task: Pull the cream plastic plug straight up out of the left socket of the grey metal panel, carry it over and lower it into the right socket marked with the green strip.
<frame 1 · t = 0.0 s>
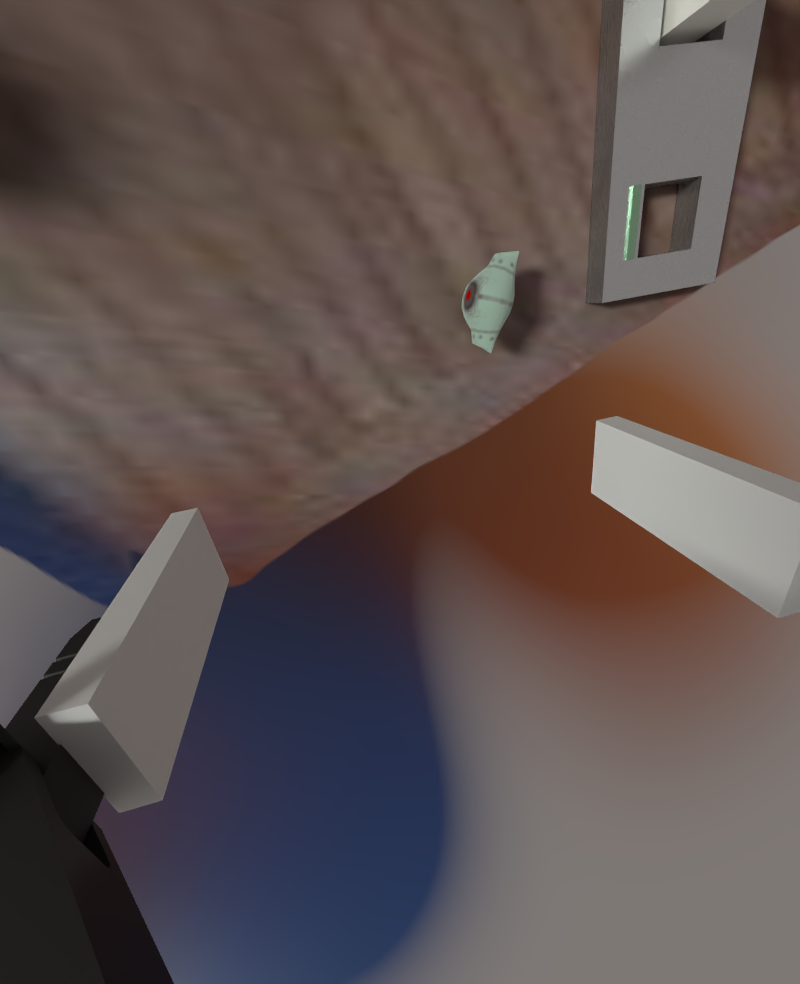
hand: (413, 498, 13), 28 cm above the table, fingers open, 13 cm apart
panel: (658, 127, 35), on the table
plug: (670, 13, 31), resting in panel
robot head: (469, 301, 38), on the table
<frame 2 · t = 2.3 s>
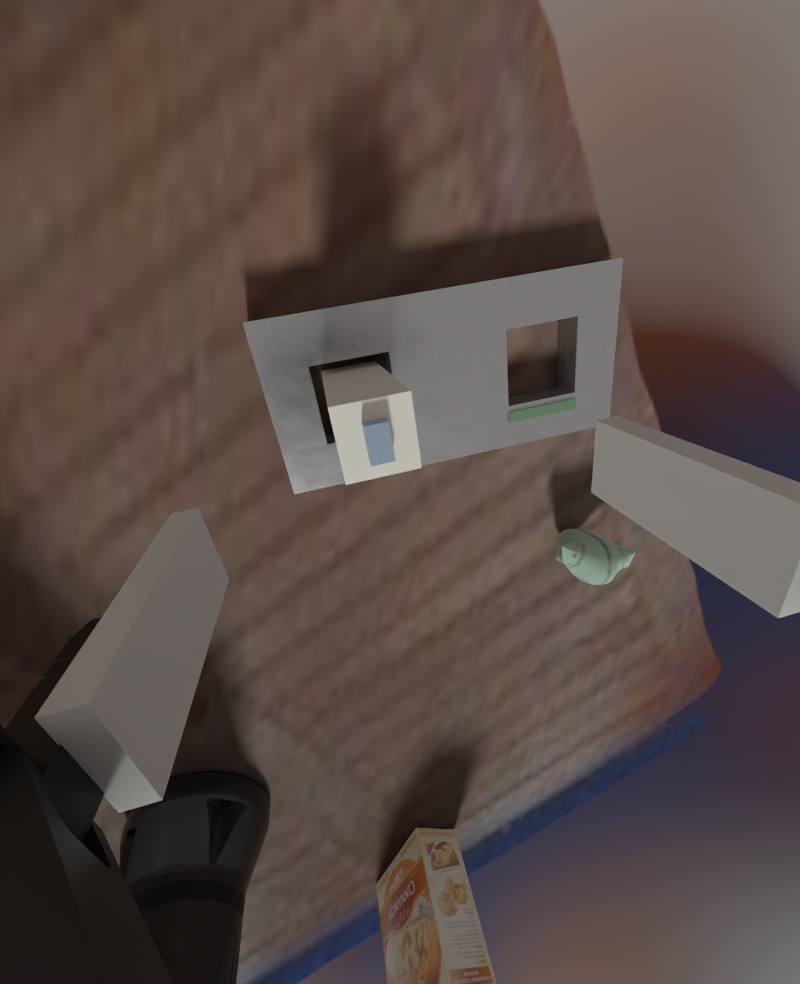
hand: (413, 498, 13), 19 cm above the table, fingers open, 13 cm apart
coffeecake box: (413, 854, 61), on the table
panel: (442, 375, 31), on the table
plug: (353, 392, 30), resting in panel
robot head: (563, 534, 40), on the table
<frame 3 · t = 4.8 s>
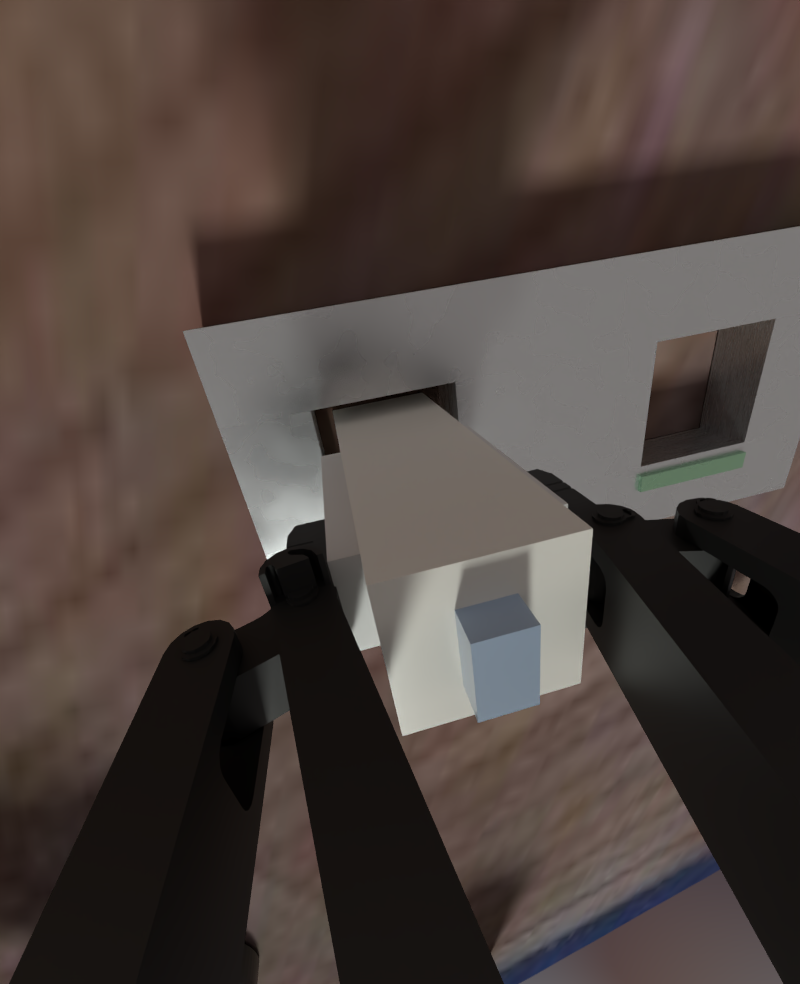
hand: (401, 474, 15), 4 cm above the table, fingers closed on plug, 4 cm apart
panel: (528, 414, 19), on the table
plug: (385, 444, 18), resting in panel, touching gripper
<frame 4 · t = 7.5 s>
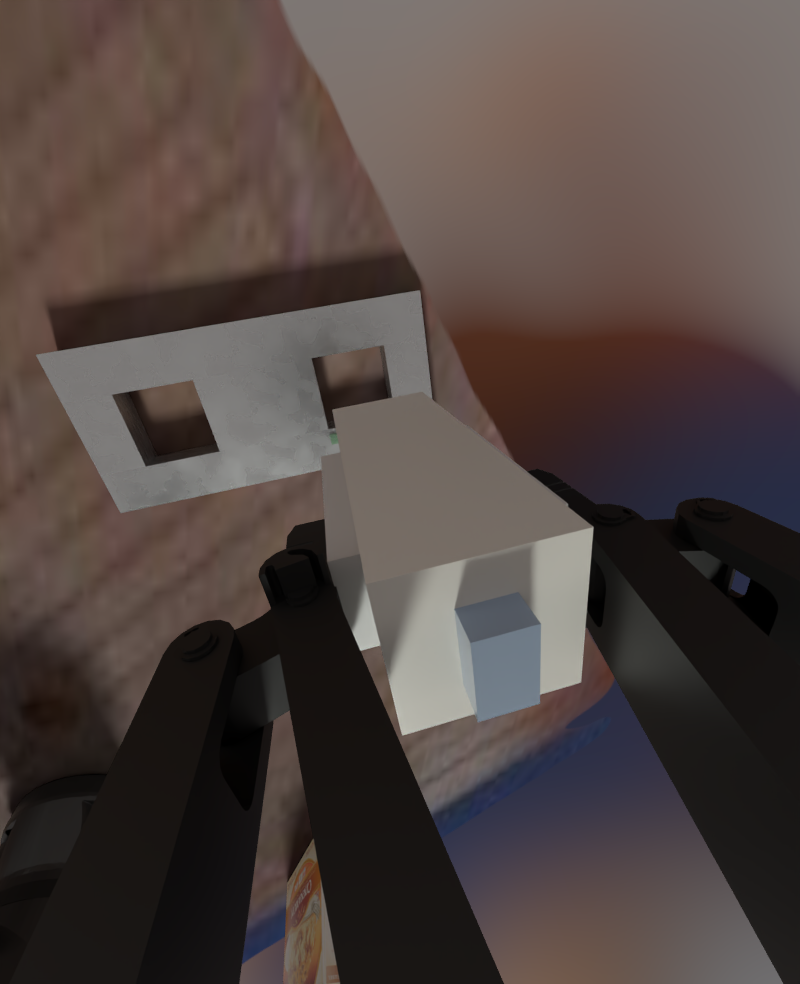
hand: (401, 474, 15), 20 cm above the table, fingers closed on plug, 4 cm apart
coffeecake box: (322, 854, 62), on the table
panel: (267, 399, 32), on the table
plug: (385, 443, 18), point 17 cm above the table, touching gripper
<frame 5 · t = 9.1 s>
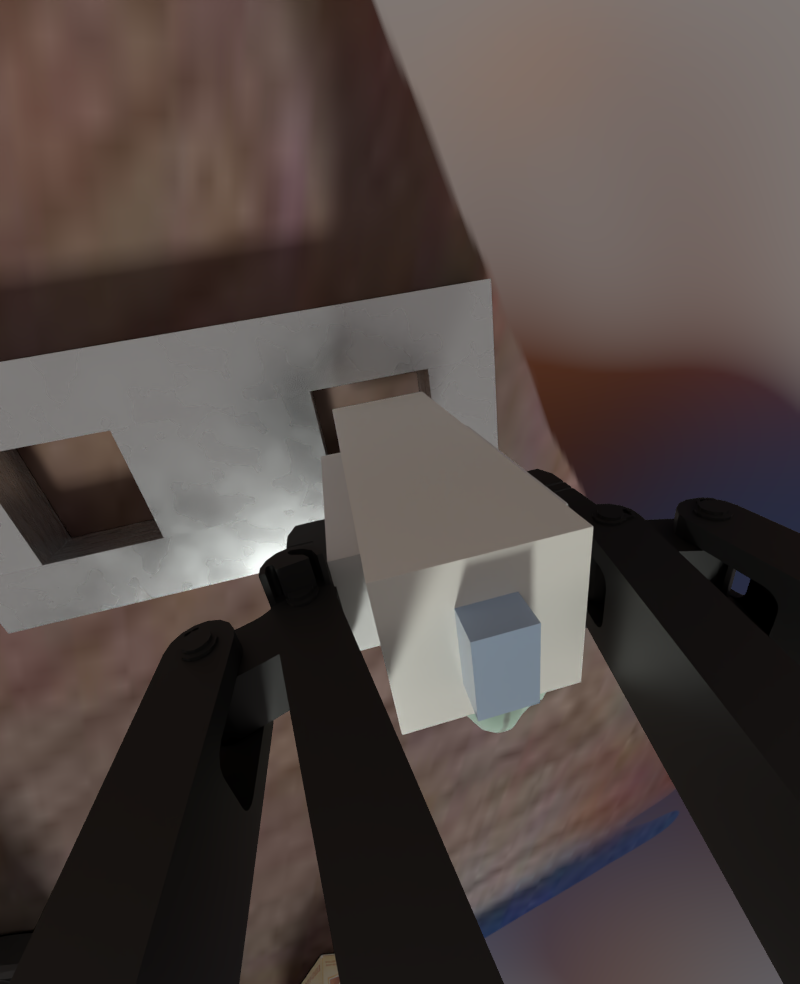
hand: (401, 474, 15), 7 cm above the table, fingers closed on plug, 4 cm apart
coffeecake box: (325, 977, 51), on the table
panel: (242, 450, 21), on the table
plug: (385, 443, 18), point 4 cm above the table, touching gripper
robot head: (466, 639, 30), on the table
when the fingers open (5 cm above the table, at t = 10.2 s): plug stays where it is, resting in panel.
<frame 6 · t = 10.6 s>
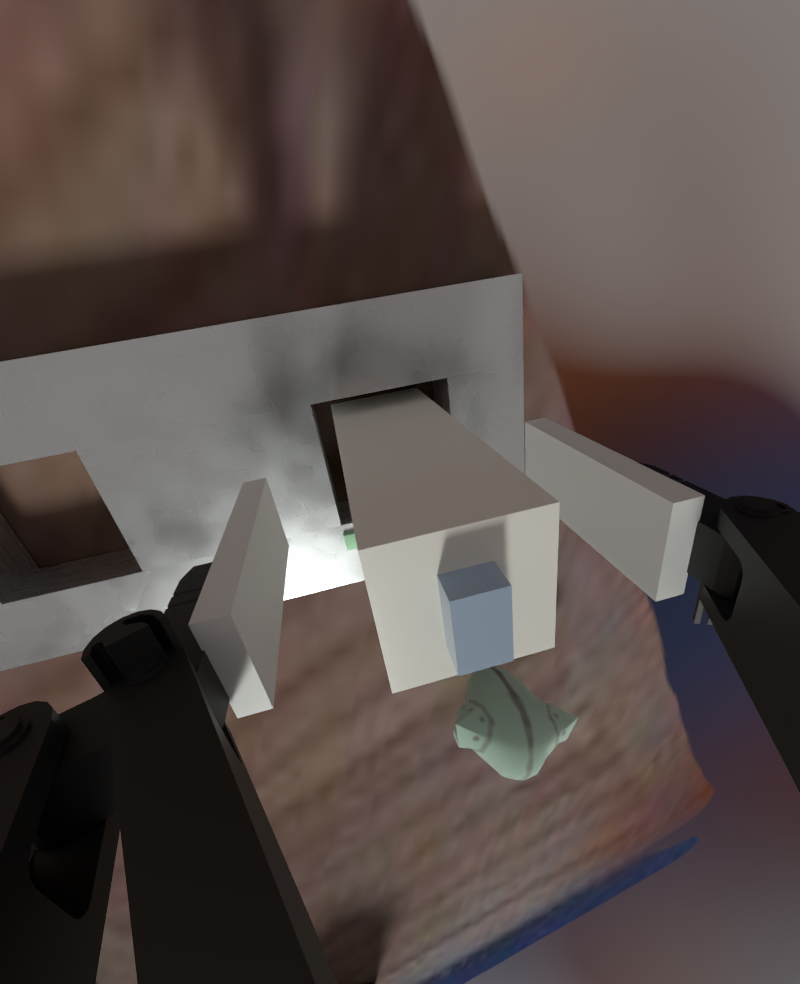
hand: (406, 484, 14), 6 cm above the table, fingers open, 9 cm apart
panel: (233, 469, 18), on the table
plug: (381, 437, 19), resting in panel
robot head: (481, 668, 28), on the table
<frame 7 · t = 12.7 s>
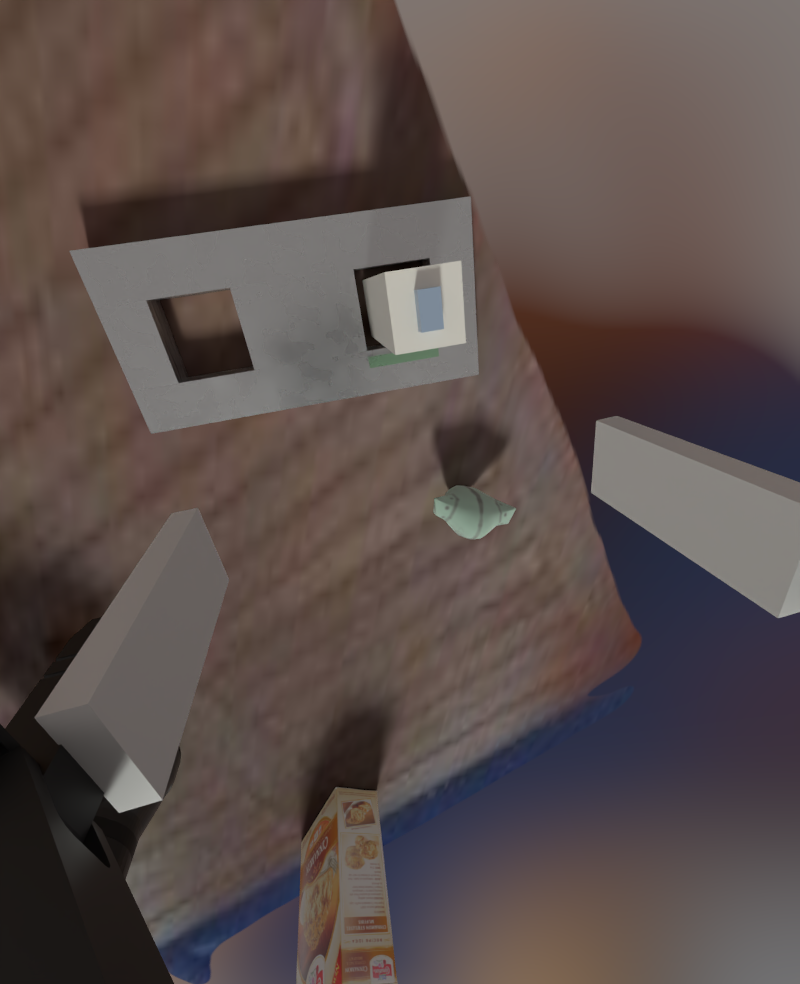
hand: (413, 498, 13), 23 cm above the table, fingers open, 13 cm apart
coffeecake box: (337, 814, 62), on the table
panel: (303, 319, 31), on the table
plug: (391, 304, 32), resting in panel
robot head: (455, 493, 40), on the table
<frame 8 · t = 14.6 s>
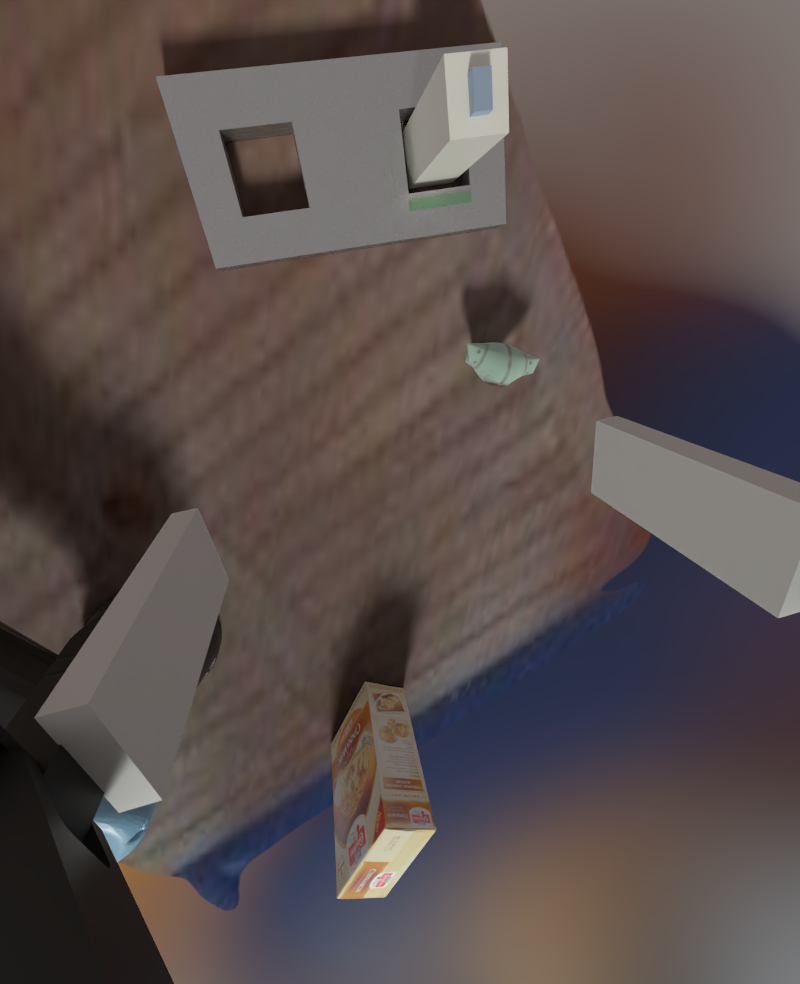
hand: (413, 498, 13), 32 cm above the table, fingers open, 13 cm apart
coffeecake box: (365, 715, 65), on the table
panel: (350, 168, 35), on the table
plug: (427, 158, 35), resting in panel
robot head: (481, 359, 44), on the table
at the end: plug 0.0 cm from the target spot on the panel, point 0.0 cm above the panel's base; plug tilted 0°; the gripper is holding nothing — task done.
